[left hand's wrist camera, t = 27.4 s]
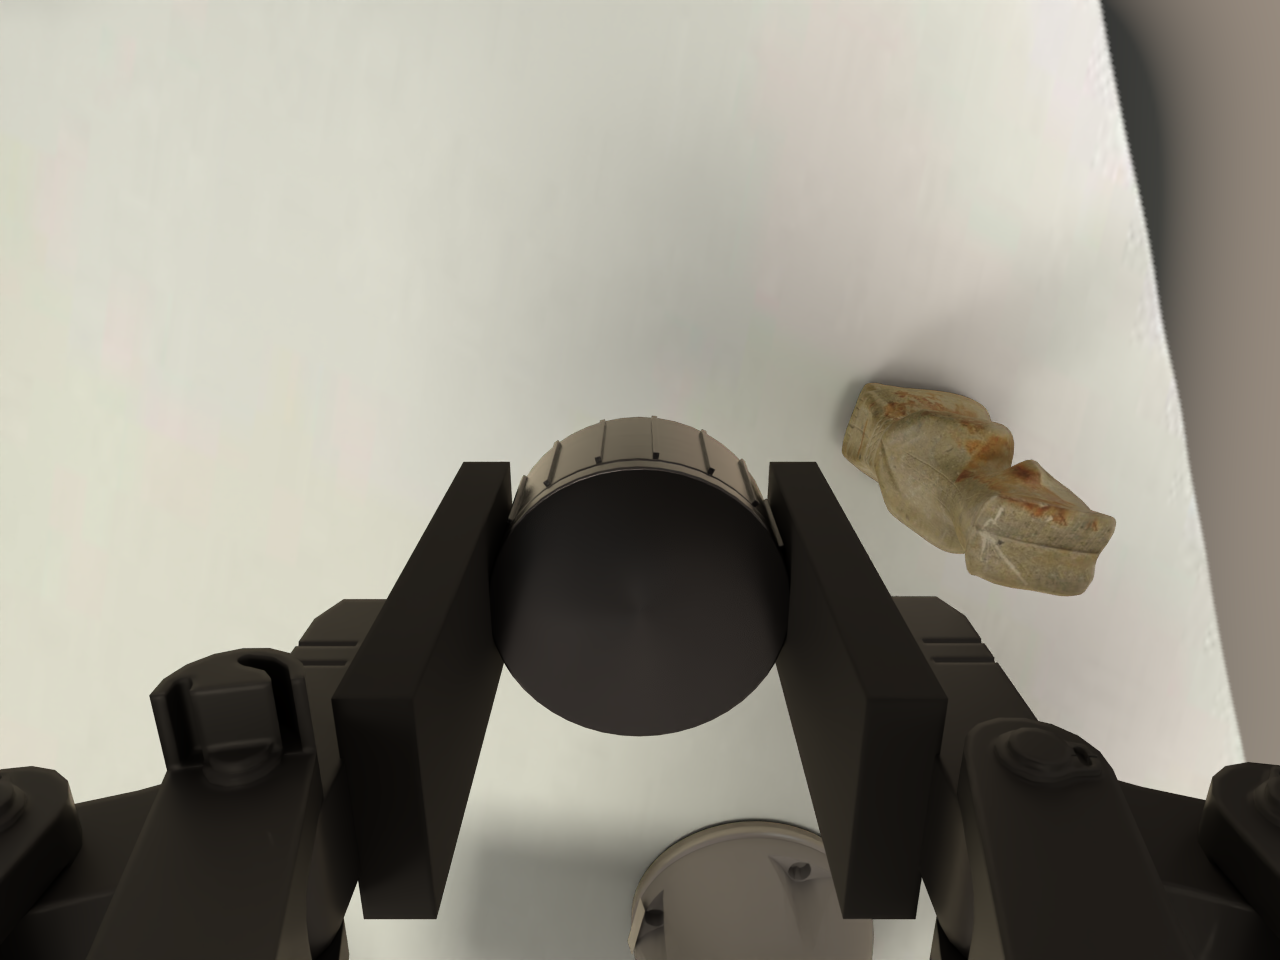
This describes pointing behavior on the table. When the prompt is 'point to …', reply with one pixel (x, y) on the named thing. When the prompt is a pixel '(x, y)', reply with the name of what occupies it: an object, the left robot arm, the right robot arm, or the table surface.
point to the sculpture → (974, 490)
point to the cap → (639, 579)
